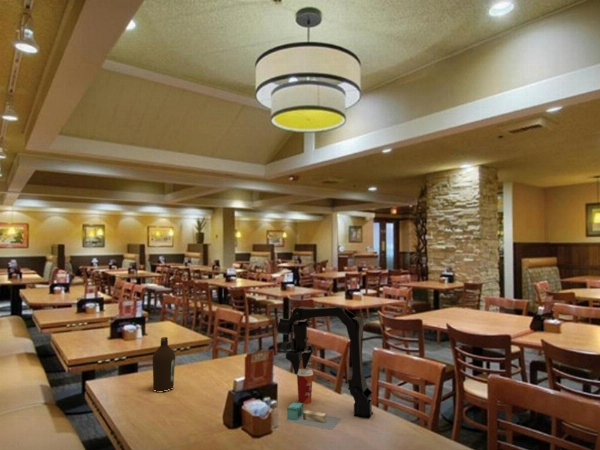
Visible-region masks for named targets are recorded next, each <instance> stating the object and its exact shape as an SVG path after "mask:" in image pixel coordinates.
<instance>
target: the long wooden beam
mask: <svg viewBox="0 0 600 450" xmlns="http://www.w3.org/2000/svg"><path fill="white" fill-rule="evenodd" d="M326 415H327V413H323V412H319V411H312V410H307V409H306V410H303V419H305V420H310V421H316V422H322V423H324V422H325V421H326Z"/></svg>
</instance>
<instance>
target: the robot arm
mask: <svg viewBox="0 0 600 450" xmlns="http://www.w3.org/2000/svg"><path fill="white" fill-rule="evenodd" d="M291 314H292V315H291V316H290V317H289V318H288V319H287V318H282V317H281V318H279V321H278V324H277V327H276V329H277V333H278V334H279V335H280V334H281V335H292V334H293V337H292V338H291V340H290V341H286V340H285V341H282V342H281V345H280V349H281V350H282V351H283V352H286V351H287V352H286V353H285V359H286V360H287V361H289V362H290V363H291V366H292V369H293V372H294V375H297V374H298V371H299V369H301V368H300V367H301V364H302V369H307V368H308V365H309V362H310V360H311V358H312V356H313V354H314V351H315V346H314V344H312V343H311V344H310V343H308V341H309V336H308V327H309V326H312V323H311V322H310V321H309V320H308V319H311V318H321V317H324V318H325V317H337V318H338V319H339V320H340V321H341V323H342V324H343V325H344V326H345V328H346V331H347V335H348V337H349V340H350V353H351V370H352V371H351V372H352V375H351V376H350V377H349V378H348V379H347V384H348V388H347V390H348V391H349V393H350V395H351V396H352V397H353V400H354V403H353V417H355V418H361V419H368V420H369V419H370V418H371V417H372V415H373V414H374V412H372V409H373V408H372V407H373V405H372V401H373V400H372V399H371V398H372V397H373V392H372V391H371V389H370V388H369V387H368V384H367V379H366V377H365V375H364V371H363V369H364V368H363V367H364V366H363V352H362V351H363V350H362V349H363V348H362V337H363V332H364V327H365V325H364V320H363V318H361V317H359V316H357V315H355V314H354V313H353V312H352V311H350V310H348V309H347V308H346V307H345V306H343V305H338V306H326V307H325V306H323V307H310V306H303V305H302V306H299V307H296V308H293V310H292V313H291ZM304 320H305V321H304Z"/></svg>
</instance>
